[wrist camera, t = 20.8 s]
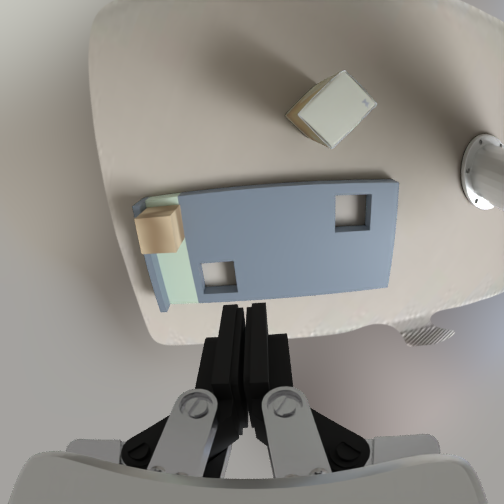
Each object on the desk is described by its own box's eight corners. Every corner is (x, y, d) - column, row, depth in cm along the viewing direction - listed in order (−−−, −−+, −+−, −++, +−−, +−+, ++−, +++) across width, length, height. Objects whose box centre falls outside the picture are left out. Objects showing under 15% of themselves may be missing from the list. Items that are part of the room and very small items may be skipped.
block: (179, 204, 35) (170, 215, 31) (184, 237, 37) (176, 252, 33) (147, 207, 35) (134, 219, 31) (153, 239, 37) (141, 254, 33)
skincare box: (316, 82, 30) (346, 65, 19) (341, 107, 31) (381, 102, 20) (281, 117, 32) (295, 114, 21) (307, 141, 33) (332, 150, 22)
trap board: (392, 179, 35) (405, 186, 31) (382, 280, 42) (392, 294, 38) (143, 197, 36) (132, 206, 33) (167, 296, 43) (160, 312, 40)
